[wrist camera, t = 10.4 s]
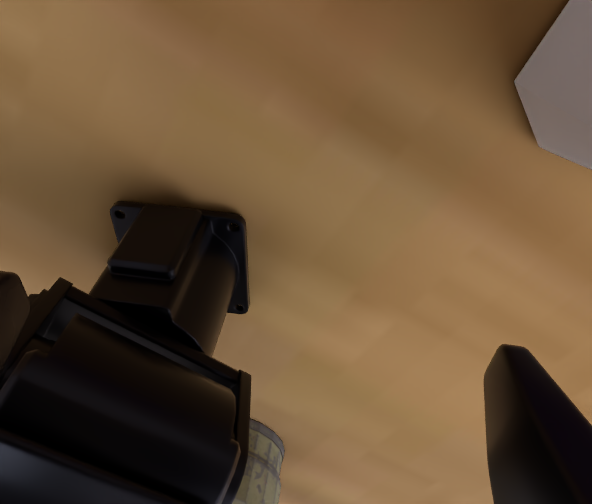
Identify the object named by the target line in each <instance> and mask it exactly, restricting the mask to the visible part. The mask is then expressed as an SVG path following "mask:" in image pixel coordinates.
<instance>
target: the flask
mask: <svg viewBox="0 0 592 504" xmlns="http://www.w3.org/2000/svg"><path fill="white" fill-rule="evenodd" d="M514 83H515V86H516V88H517V91H518V94H519V96H520V99H521V101H522V104H523V107H524V109H525V112H526V114H527V117H528V120H529V122H530V125H531V128H532V130H533V133H534V135H535V138H536V141H537V143H538V146H539V147H541V148H543V149H545V150H547V151H549V152H551V153H553V154H555V155H558V156H560V157H563V158H565V159H567V160H570V161H572V162H574V163H577V164H579V165H582V166H584V167H586V168H589V169H591V170H592V0H569V2H568V3H567V5H566V6H565V8H564V9H563V11H562V12H561V13H560V15H559V16H558V18H557V19H556V21H555V22H554V24H553V25H552V27H551V28H550V29H549V31H548V32H547V34H546V35H545V37H544V38H543V40H542V41H541V43H540V44H539V45H538V47H537V48H536V50H535V51H534V53H533V54H532V56H531V57H530V59H529V60H528V62H527V63H526V64H525V66H524V67H523V69H522V70H521V72H520V73H519V75H518V76H517V78H516V79H515V80H514Z"/></svg>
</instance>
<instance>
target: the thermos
mask: <svg viewBox="0 0 592 504" xmlns="http://www.w3.org/2000/svg"><path fill="white" fill-rule="evenodd" d="M284 451H285V450H284V447H283V443H282V441H281V440H280V439H279V437H278V436H277V435H276V434H275V433H274V432H273V431H272V430H270V429H269V428H267V427H266V426H264V425H263V424H261V423H259V422H256V421H254V420H251V419H250V427H249V450H248V459H247V464H246V468H245V472H244V475H243V478H242V481H241V485H240V487H239V489H238V492H237V494H236V497H235V499H234V501H233V503H232V504H278V502H279V495H280V489H281V484H280V478H279V475H280V469H281V463H282V460H283V457H284Z"/></svg>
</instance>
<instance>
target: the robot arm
mask: <svg viewBox="0 0 592 504" xmlns="http://www.w3.org/2000/svg"><path fill="white" fill-rule="evenodd" d="M119 210H120V211H122V212H124V214H123V213H121V212H120V211H119ZM110 215H111V219H112V222H113V226H114V229H115V233H116V237H117V240H118V245H117V247H116V248H115V250H114V251H113V253H112V254H111V256H110V257H109V259H108V261H107V264H108V265H107V267H106V268H105V270H104V271H103V273H102V274H101V276H100V277H99V279H98V280H97V282H96V283H95V285H94V286H93V288H92V289H91V291H90V293H89V294H87V293H85V292H83V291H81V290H79V289H77V288H75V287H73V286H72V285H73V283H71V282H69V281H67V280H65V279H63V278H61V277H60V278H59V279H58V280H57V281H56V282H55V283H54V285H53V286H52V287H51V288H50V289H49V291H47V290H45V289H43V290H42V292H41V293H40V294H30V295H29V297H28V296H27V294H26V291H25V289H24V287H23V284H22V282H21V280H20V278H19V276H18V275H17V274H15V273H12V272H5V271H0V504H232V503H233V501H234V499H235V497H236V494H237V492H238V489H239V487H240V485H241V481H242V478H243V475H244V472H245V468H246V464H247V459H248V450H249V427H250V398H251V375H250V374H248V373H246V372H244V371H242V370H239V371H237V370H235V369H233V368H231V367H229V366H227V365H226V364H224V363H222V362H220V361H218V360H216V359H214V358H212V354H213V352H214V349H215V346H216V343H217V340H218V337H219V334H220V331H221V328H222V325H223V322H224V319H225V316H226V313H235V314H245V313H246V312H247V311H248V308H249V305H250V297H249V276H248V255H247V233H246V222H245V219H244V218H243V217H242V216H240V215H238V214H233V213H224V212H215V211H206V210H197V209H190V208H181V207H172V206H163V205H154V204H143V203H134V202H124V201H118V202H116V203H115V204H114V205H113V206H112V208H111V209H110ZM231 223H235V224H237V225H238V227H235V226H233V225H232V224H231ZM240 305H242V306H240ZM484 400H485V421H486V443H487V459H488V469H489V476H490V482H491V489H492V495H493V501H494V504H592V425H591V424H590V423H589V422H588V420H587V419H586V418H585V417H584V416H583V414H582V413H581V412H580V411H579V410H578V409H577V407H576V406H575V405H574V404H573V403H572V401H571V400H570V399H569V398H568V397H567V395H566V394H565V393H564V392H563V391H562V390H561V388H560V387H559V386H558V385H557V384H556V382H555V381H554V380H553V379H552V378H551V376H550V375H549V374H548V373H547V372H546V370H545V369H544V368H543V367H542V366H541V365H540V363H539V362H538V361H537V360H536V359H535V357H534V356H533V355H532V354H531V353H530V352H529V350H527V349H526V348H524V347H521V346H515V345H508V344H502V345H501V346H499V348H498V349H497V351H496V353H495V354H494V356H493V358H492V360H491V362H490V364H489V366H488V367H487V369H486V372H485V375H484Z"/></svg>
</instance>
